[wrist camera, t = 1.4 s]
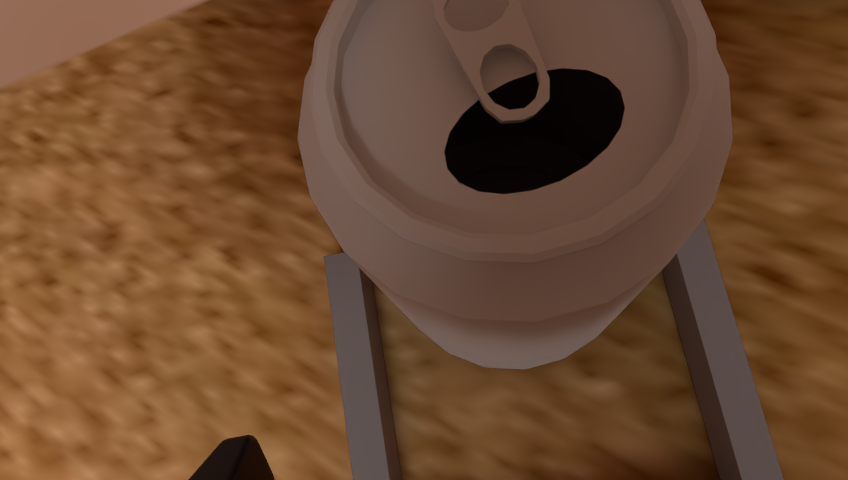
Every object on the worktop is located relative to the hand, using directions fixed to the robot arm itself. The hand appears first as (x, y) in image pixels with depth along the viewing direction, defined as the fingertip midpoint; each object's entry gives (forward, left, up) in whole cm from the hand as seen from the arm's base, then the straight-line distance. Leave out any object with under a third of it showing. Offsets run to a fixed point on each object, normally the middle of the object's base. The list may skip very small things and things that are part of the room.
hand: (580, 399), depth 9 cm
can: (+4, -3, -12) cm, 13 cm away
